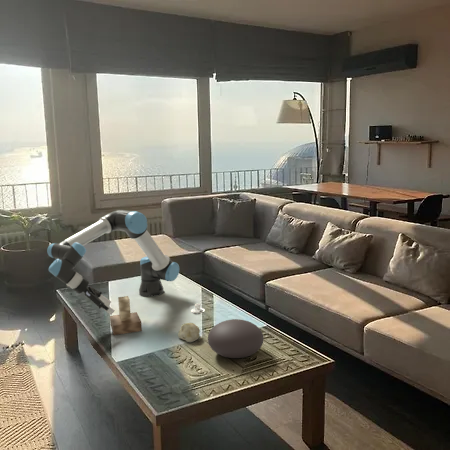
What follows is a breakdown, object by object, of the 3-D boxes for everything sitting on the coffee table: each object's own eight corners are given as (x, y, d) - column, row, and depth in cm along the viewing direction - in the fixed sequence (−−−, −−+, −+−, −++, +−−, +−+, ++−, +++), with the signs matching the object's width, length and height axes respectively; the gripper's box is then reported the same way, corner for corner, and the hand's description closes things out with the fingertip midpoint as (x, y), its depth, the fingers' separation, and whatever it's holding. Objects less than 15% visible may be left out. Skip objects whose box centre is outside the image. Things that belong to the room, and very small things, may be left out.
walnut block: (137, 321, 263) (136, 312, 262) (141, 330, 250) (141, 321, 249) (110, 324, 258) (109, 315, 257) (113, 335, 245) (113, 325, 244)
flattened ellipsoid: (246, 372, 205) (246, 338, 202) (197, 358, 218) (196, 326, 215) (273, 349, 226) (273, 318, 223) (226, 338, 239) (226, 308, 236)
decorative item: (208, 329, 239) (193, 327, 232) (201, 346, 239) (186, 344, 232) (193, 319, 248) (178, 317, 240) (186, 336, 247) (171, 334, 240)
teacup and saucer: (197, 315, 269) (197, 308, 269) (186, 312, 274) (186, 305, 273) (207, 310, 276) (207, 303, 275) (197, 307, 281) (196, 301, 280)
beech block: (129, 316, 256) (128, 295, 254) (130, 319, 252) (129, 299, 249) (119, 317, 255) (118, 297, 252) (120, 321, 250) (119, 300, 248)
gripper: (71, 282, 253) (103, 305, 260) (74, 297, 229) (109, 322, 237) (81, 270, 253) (112, 295, 261) (85, 284, 230) (119, 310, 238)
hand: (111, 308), depth 249 cm, fingers open, 13 cm apart
